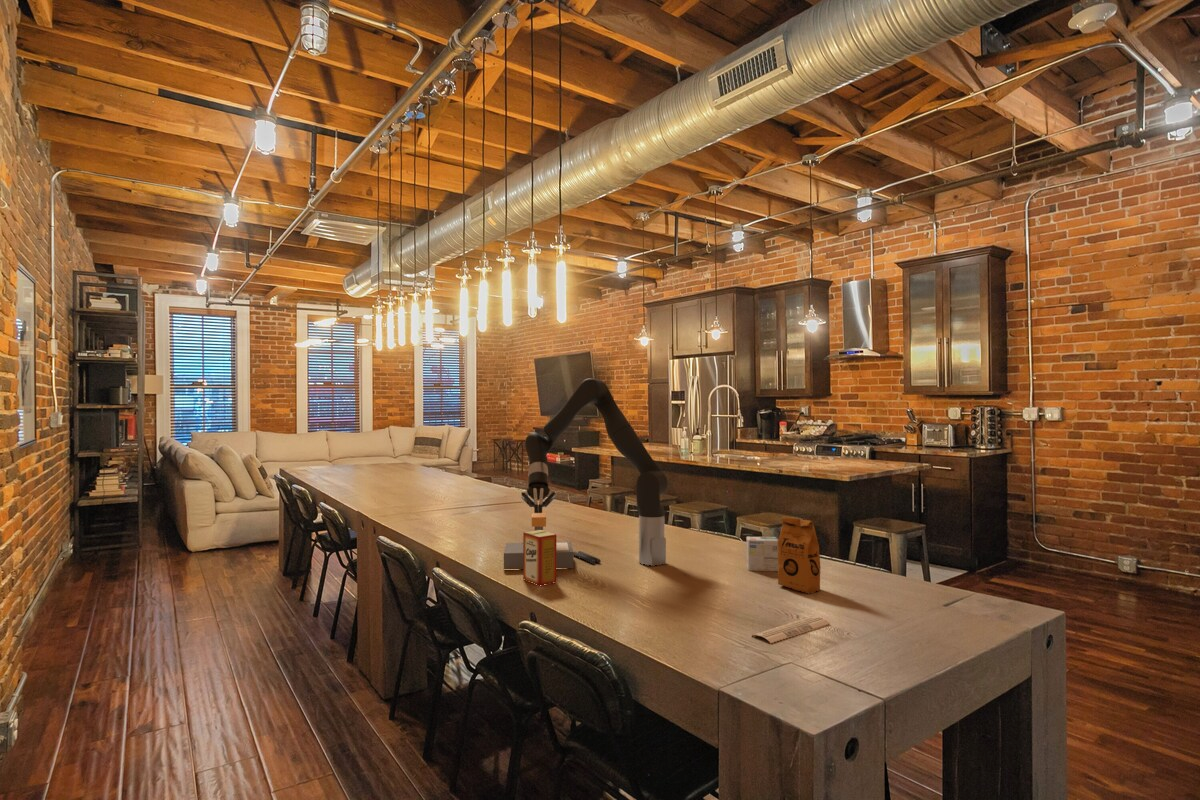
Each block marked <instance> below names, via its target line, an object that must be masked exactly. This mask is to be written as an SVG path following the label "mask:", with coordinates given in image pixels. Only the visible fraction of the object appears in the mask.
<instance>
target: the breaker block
mask: <svg viewBox="0 0 1200 800" xmlns="http://www.w3.org/2000/svg"><path fill="white" fill-rule="evenodd" d="M504 546H505V547H504V552H503V570H504V569H523V542H505V545H504ZM573 552H574V549H573V543H572V541H556V568H573V569H574V556H573Z"/></svg>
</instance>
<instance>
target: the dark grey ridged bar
mask: <svg viewBox="0 0 1200 800" xmlns="http://www.w3.org/2000/svg"><path fill="white" fill-rule="evenodd" d="M573 555H575V556H574V557H576V556H578V557H580V558H582V559H584V560H586V561H585V562H587V561H588V562H587V563H589V562H590V563H589V564H591V563H593V564H592V565H595V564H601V562H602V561H601V559H600V558H599V557H596V556H594V555H591V554H589V553H586V552H584V551H581V550H579V551H578V552H577V551H573ZM578 557H577V558H578ZM580 558H579V559H580ZM582 559H581V560H582ZM584 560H583V561H584ZM596 562H597V563H596ZM594 563H595V564H594Z"/></svg>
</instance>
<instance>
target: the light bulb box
mask: <svg viewBox="0 0 1200 800" xmlns="http://www.w3.org/2000/svg"><path fill="white" fill-rule="evenodd" d="M745 539H746V567H747V570H748V571H752V572H753V571H754V572H778V571H779V569H778V539H779V538H777V536H746V537H745Z"/></svg>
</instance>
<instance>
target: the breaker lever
mask: <svg viewBox="0 0 1200 800" xmlns="http://www.w3.org/2000/svg"><path fill="white" fill-rule="evenodd" d="M531 527H532V528H534V531H535V530H544V527H547V512H542V513H534V512H533V513H532V512H531Z"/></svg>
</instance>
